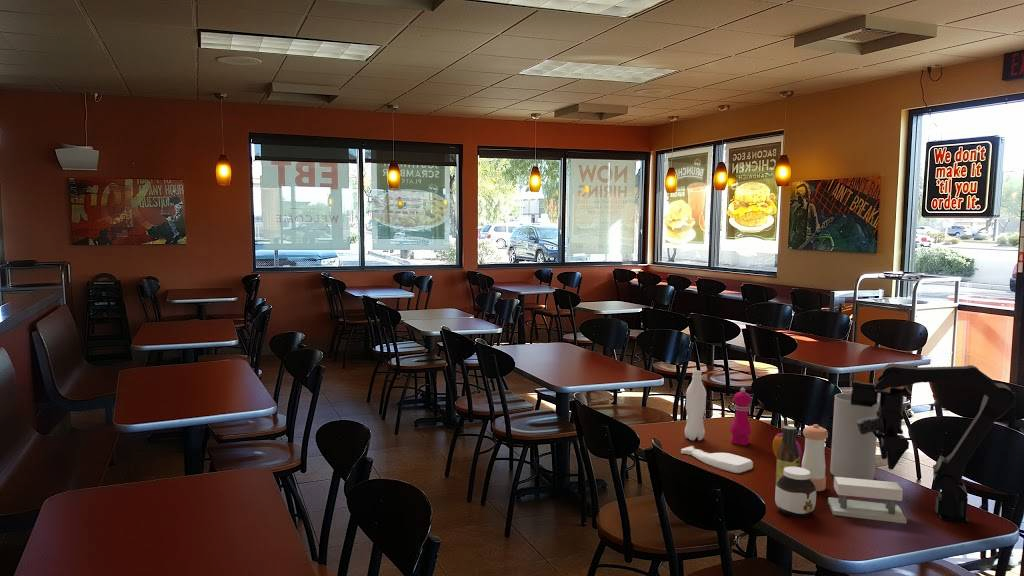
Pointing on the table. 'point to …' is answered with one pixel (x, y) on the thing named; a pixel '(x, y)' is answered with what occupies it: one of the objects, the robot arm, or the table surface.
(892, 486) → the shelf board
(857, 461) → the cylinder vase
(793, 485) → the spread jar
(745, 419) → the pepper mill
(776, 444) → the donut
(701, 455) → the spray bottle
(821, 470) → the pepper shaker
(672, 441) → the table surface
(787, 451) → the sauce bottle
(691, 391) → the water bottle
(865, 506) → the peg stand
